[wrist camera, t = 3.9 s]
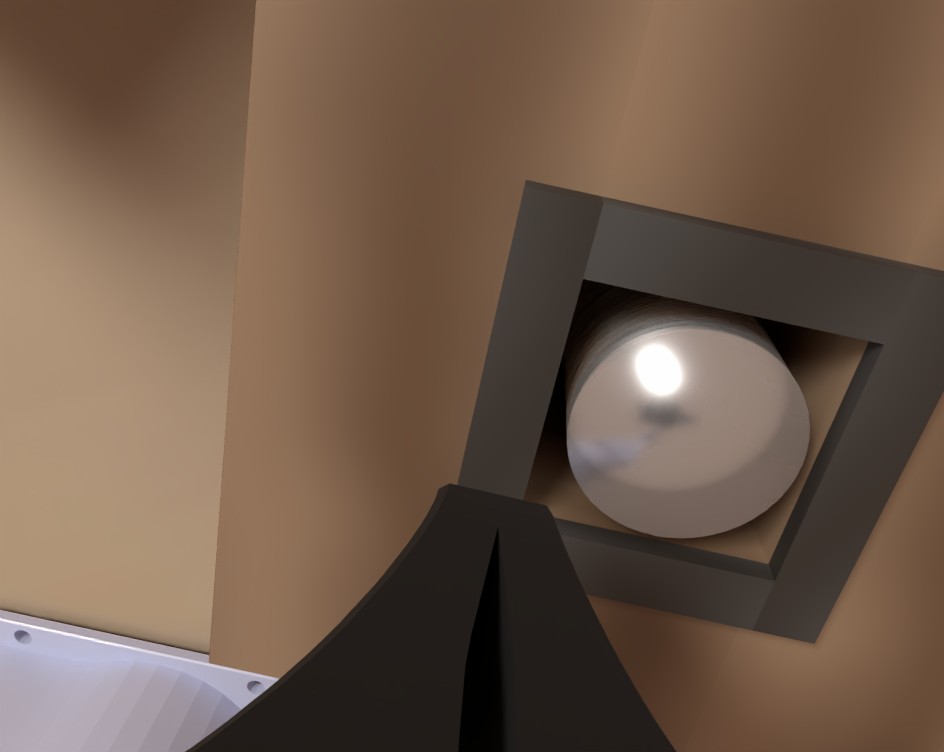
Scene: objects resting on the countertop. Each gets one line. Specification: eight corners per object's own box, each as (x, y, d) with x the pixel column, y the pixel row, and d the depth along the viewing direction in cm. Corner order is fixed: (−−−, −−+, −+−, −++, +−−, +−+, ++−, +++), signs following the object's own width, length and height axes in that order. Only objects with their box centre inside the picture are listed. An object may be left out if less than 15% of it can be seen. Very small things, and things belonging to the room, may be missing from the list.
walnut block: (278, 525, 22) (200, 680, 17) (355, -161, 15) (259, -232, 10) (853, 650, 22) (939, 841, 17) (1194, 23, 15) (1500, 41, 10)
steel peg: (545, 388, 19) (542, 511, 15) (588, 224, 17) (601, 307, 13) (712, 424, 19) (760, 559, 15) (772, 264, 17) (848, 361, 13)
